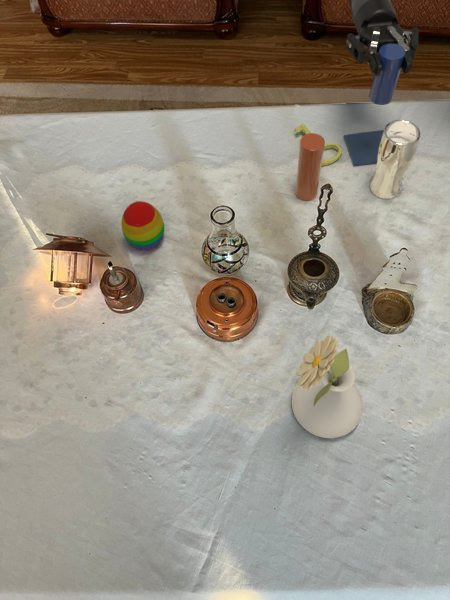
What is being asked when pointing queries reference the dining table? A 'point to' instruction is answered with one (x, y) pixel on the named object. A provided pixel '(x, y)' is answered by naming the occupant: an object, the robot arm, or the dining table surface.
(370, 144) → the blue tile
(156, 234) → the decorative egg
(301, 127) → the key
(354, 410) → the flower in vase
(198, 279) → the dining table surface
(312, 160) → the terracotta pillar
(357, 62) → the robot arm
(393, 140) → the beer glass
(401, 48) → the blue canister
